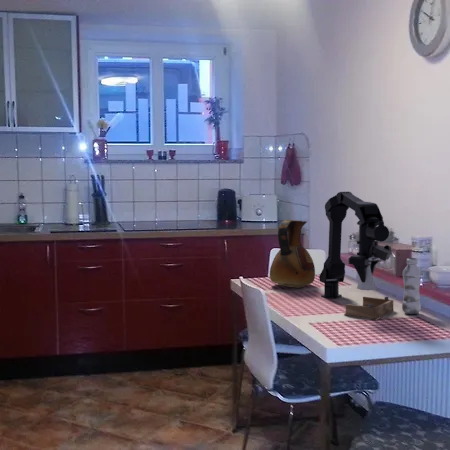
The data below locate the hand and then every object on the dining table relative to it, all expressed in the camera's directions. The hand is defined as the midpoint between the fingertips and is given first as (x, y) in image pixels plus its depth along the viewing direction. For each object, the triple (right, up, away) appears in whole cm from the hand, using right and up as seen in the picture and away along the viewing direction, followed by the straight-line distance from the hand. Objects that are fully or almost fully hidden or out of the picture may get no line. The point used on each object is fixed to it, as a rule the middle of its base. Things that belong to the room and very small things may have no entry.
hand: (366, 281), depth 228 cm
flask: (0, -3, 0) cm, 3 cm away
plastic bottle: (+16, -12, -2) cm, 20 cm away
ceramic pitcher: (-21, -7, +51) cm, 56 cm away
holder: (+1, -12, 0) cm, 12 cm away
